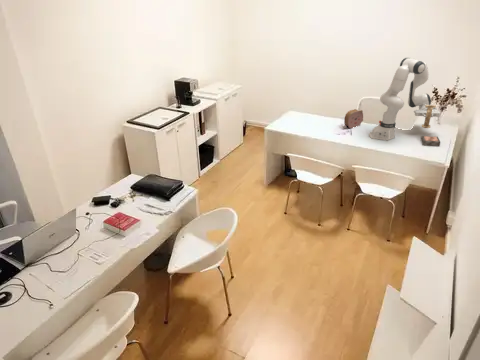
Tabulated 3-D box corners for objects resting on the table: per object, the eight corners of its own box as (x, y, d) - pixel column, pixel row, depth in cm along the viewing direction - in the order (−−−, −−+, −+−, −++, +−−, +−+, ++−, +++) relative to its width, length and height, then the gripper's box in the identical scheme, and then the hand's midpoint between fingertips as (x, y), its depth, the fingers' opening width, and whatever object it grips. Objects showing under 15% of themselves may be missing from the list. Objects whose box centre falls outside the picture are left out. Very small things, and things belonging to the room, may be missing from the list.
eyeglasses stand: (421, 128, 316) (426, 106, 306) (420, 125, 321) (424, 104, 312) (431, 128, 314) (436, 107, 304) (430, 125, 319) (434, 104, 310)
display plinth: (422, 145, 309) (423, 141, 307) (420, 140, 319) (421, 135, 317) (439, 146, 305) (440, 141, 303) (436, 140, 315) (437, 136, 313)
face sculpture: (348, 129, 350) (349, 113, 342) (343, 127, 355) (344, 111, 347) (362, 125, 358) (364, 109, 350) (357, 123, 363) (359, 107, 355)
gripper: (414, 107, 324) (416, 112, 313) (438, 108, 319) (442, 113, 308) (412, 114, 327) (414, 119, 316) (437, 115, 322) (440, 120, 311)
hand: (428, 116), depth 312 cm, fingers closed on eyeglasses stand, 4 cm apart
